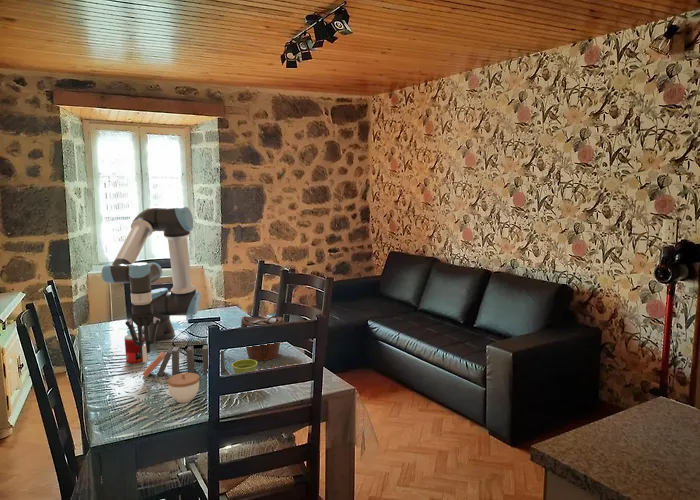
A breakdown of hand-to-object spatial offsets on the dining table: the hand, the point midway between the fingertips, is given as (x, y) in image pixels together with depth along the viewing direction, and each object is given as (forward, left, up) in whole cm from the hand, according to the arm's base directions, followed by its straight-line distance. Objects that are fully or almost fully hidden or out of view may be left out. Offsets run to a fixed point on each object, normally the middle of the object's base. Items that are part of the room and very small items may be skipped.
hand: (145, 360), depth 209 cm
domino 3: (0, +11, -6) cm, 12 cm away
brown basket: (-14, +46, -6) cm, 49 cm away
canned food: (-18, -8, -6) cm, 21 cm away
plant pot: (+18, +39, -6) cm, 43 cm away
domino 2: (0, +5, -6) cm, 8 cm away
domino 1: (0, 0, -5) cm, 5 cm away
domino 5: (0, +23, -6) cm, 24 cm away
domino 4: (0, +17, -6) cm, 18 cm away
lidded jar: (+26, +18, -6) cm, 32 cm away
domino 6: (0, +29, -6) cm, 30 cm away
